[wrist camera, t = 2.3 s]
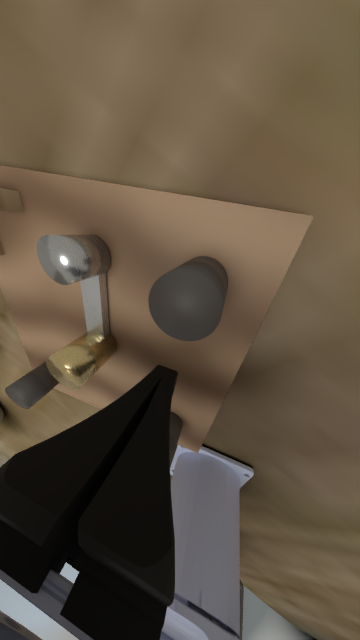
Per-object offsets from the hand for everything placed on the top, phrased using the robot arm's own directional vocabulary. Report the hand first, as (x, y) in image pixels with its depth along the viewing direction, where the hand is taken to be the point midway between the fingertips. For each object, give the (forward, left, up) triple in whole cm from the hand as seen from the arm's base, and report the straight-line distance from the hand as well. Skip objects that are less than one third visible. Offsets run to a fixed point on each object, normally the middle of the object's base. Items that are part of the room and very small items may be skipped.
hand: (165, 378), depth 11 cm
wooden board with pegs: (0, +6, -3) cm, 6 cm away
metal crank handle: (+3, +6, -1) cm, 7 cm away
